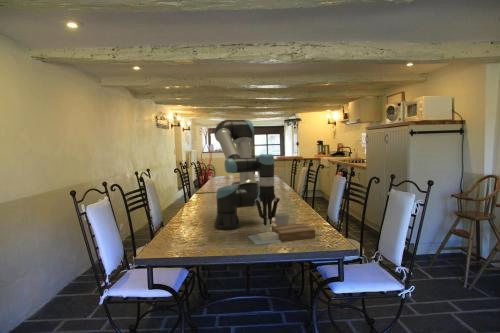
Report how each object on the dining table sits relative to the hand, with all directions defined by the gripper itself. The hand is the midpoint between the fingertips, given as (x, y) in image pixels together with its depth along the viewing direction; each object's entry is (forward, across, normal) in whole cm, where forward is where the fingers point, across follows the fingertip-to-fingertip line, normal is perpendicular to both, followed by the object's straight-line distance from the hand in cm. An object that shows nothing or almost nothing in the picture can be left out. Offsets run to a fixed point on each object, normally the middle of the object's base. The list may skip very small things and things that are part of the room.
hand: (267, 231), depth 164 cm
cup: (+4, +14, +18) cm, 23 cm away
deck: (+4, +14, 0) cm, 15 cm away
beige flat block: (+4, 0, 0) cm, 4 cm away
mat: (+4, -2, 0) cm, 4 cm away
